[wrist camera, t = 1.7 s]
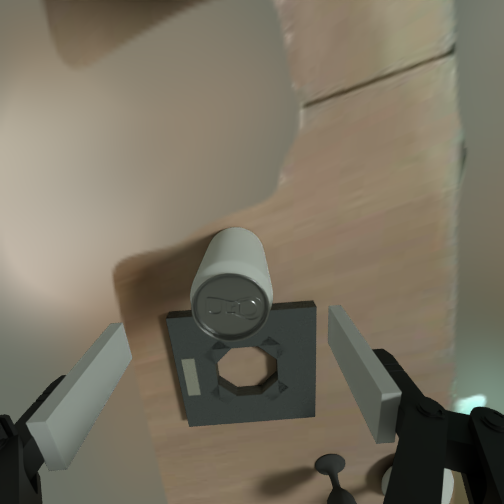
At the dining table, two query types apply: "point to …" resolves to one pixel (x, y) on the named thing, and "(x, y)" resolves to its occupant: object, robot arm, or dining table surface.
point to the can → (232, 287)
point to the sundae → (334, 478)
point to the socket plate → (250, 397)
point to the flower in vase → (447, 484)
